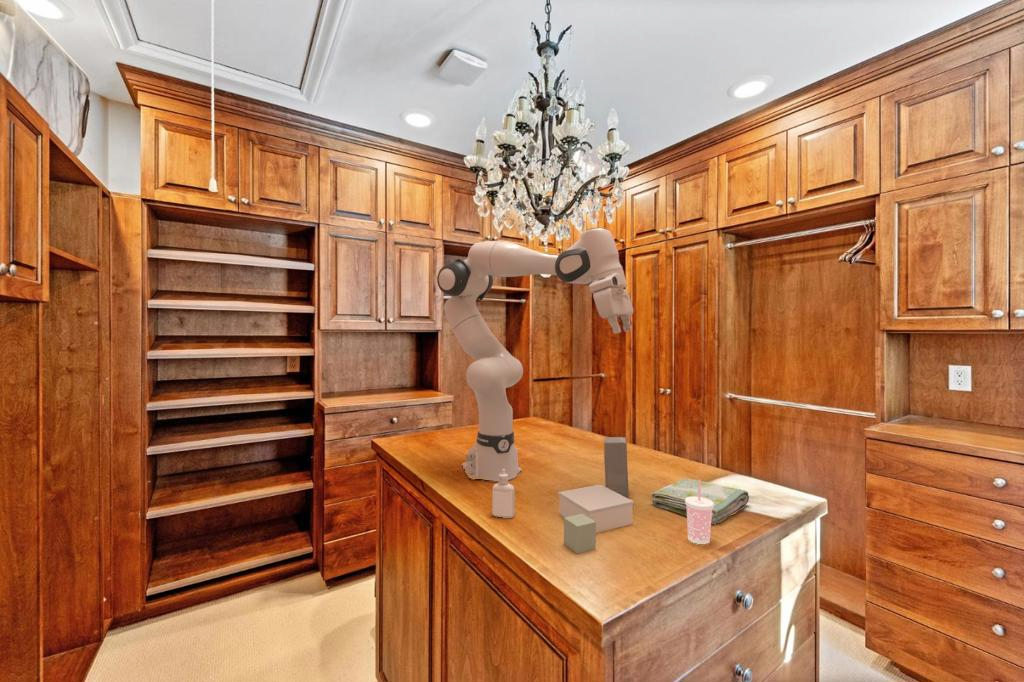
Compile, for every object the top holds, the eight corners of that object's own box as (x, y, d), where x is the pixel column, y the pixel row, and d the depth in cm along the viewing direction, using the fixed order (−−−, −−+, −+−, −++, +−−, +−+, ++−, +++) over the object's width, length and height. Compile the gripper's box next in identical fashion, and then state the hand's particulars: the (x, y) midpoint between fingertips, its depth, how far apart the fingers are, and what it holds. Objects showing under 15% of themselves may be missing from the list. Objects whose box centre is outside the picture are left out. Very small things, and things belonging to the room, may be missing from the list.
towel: (648, 506, 123) (648, 488, 123) (688, 489, 136) (688, 472, 136) (713, 529, 109) (713, 508, 109) (750, 507, 122) (750, 488, 122)
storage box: (558, 514, 117) (558, 492, 117) (599, 506, 123) (600, 484, 123) (588, 536, 105) (589, 511, 105) (633, 525, 111) (633, 501, 110)
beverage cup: (678, 535, 105) (679, 476, 104) (701, 532, 106) (702, 474, 106) (695, 548, 99) (696, 485, 98) (719, 545, 100) (720, 483, 100)
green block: (563, 544, 100) (563, 517, 100) (581, 539, 103) (582, 513, 103) (576, 554, 96) (577, 526, 96) (595, 548, 98) (595, 521, 98)
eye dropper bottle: (506, 521, 112) (506, 474, 111) (489, 515, 115) (489, 469, 115) (517, 516, 115) (517, 469, 115) (500, 510, 119) (500, 465, 118)
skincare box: (629, 498, 127) (629, 443, 127) (603, 496, 129) (604, 441, 128) (627, 488, 136) (628, 436, 135) (603, 486, 137) (604, 435, 137)
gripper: (611, 288, 135) (623, 333, 134) (586, 286, 117) (599, 337, 116) (631, 282, 131) (643, 327, 130) (608, 278, 114) (623, 331, 113)
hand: (623, 332), depth 123 cm, fingers open, 8 cm apart
